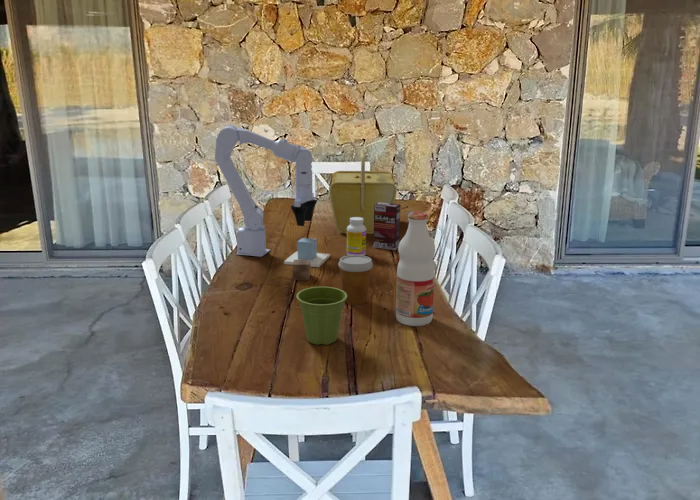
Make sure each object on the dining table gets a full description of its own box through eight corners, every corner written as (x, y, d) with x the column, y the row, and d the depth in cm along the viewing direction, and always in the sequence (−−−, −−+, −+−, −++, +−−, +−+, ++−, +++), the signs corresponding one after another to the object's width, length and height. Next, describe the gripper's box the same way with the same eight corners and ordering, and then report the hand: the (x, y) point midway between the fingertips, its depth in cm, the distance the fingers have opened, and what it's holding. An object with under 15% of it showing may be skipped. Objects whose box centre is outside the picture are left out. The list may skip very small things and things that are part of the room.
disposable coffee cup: (376, 297, 177) (377, 256, 174) (366, 308, 169) (367, 266, 165) (344, 293, 180) (345, 253, 177) (333, 304, 172) (333, 262, 168)
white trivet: (284, 264, 206) (283, 261, 206) (296, 254, 217) (296, 251, 217) (318, 267, 203) (318, 264, 203) (329, 256, 214) (329, 254, 214)
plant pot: (288, 345, 146) (287, 300, 143) (309, 326, 157) (309, 283, 154) (335, 353, 142) (335, 307, 139) (354, 333, 153) (354, 290, 150)
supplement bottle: (363, 258, 213) (364, 221, 210) (344, 257, 215) (344, 220, 211) (367, 252, 220) (367, 216, 216) (348, 251, 221) (349, 215, 217)
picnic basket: (395, 235, 242) (398, 157, 234) (328, 235, 242) (328, 157, 234) (392, 218, 270) (393, 147, 262) (331, 217, 270) (331, 147, 262)
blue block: (297, 259, 208) (297, 241, 207) (302, 254, 213) (302, 237, 211) (312, 260, 207) (311, 242, 206) (316, 256, 212) (316, 238, 210)
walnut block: (292, 280, 191) (292, 264, 190) (294, 274, 196) (294, 259, 195) (309, 280, 191) (309, 264, 190) (310, 275, 196) (310, 259, 195)
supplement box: (372, 247, 226) (373, 204, 221) (377, 244, 230) (378, 201, 225) (395, 250, 223) (396, 206, 218) (399, 247, 227) (401, 203, 222)
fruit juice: (401, 310, 167) (405, 208, 160) (436, 316, 164) (441, 211, 156) (390, 323, 159) (393, 215, 151) (427, 329, 156) (432, 219, 148)
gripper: (308, 188, 205) (308, 229, 209) (321, 181, 219) (321, 219, 223) (287, 187, 207) (288, 227, 211) (302, 180, 221) (303, 217, 224)
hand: (304, 223), depth 217 cm, fingers open, 7 cm apart
